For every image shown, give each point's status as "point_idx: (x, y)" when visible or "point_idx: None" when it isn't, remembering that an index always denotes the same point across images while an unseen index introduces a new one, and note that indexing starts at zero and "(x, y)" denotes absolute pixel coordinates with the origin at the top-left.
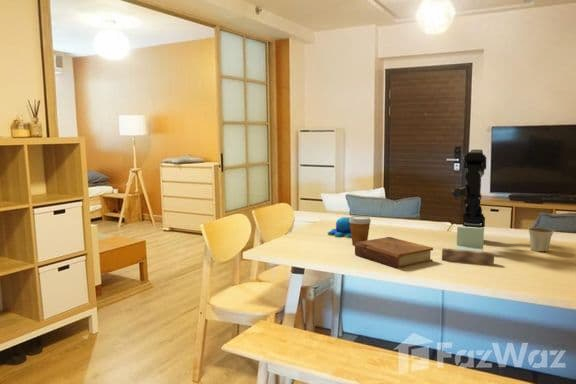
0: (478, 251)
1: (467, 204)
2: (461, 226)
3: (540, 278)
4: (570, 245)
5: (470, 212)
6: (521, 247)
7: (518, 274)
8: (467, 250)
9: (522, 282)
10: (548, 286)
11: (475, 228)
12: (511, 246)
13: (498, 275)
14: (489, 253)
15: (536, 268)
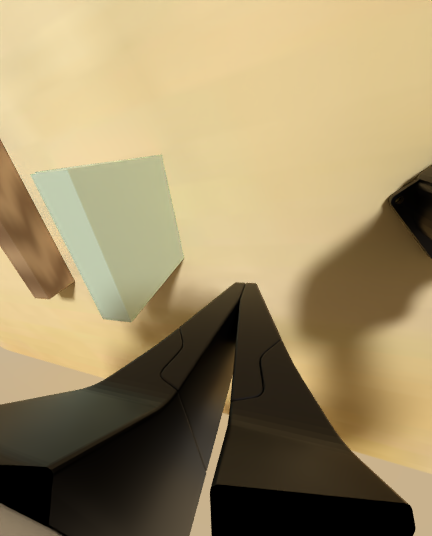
0: (24, 261)
1: (27, 415)
2: (76, 200)
3: (52, 339)
4: (383, 458)
5: (195, 322)
6: (309, 364)
7: (42, 315)
8: (5, 229)
9: (9, 314)
10: (25, 340)
11: (85, 283)
12: (316, 343)
13: (6, 284)
14: (32, 288)
15: (105, 347)
